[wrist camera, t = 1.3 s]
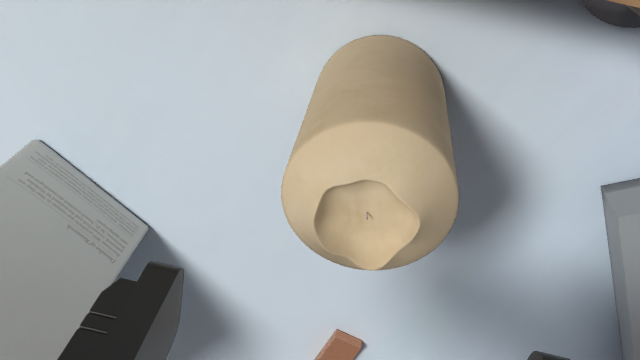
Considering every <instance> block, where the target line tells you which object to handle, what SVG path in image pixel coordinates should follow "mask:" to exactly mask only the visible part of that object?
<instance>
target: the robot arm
mask: <svg viewBox="0 0 640 360" xmlns="http://www.w3.org/2000/svg"><path fill="white" fill-rule="evenodd" d="M183 279H184V269H183V268H180V267H176V266H172V265H167V264H163V263H159V262H154V261H150V262H149V263H148V264H147V266H146V268H145V269H144V271H143V273H142V274H141V276H140V278H139V280H138V281H137V282H135V281H131V280H127V279H122V278H120V279H119V280H118V281H116V282H115V283H113V284H112V285H111V286H109V287H108V288H106V289H105V290H103V291H102V292H101V293H100V295H99V296H98V298H97V299H96V301H95V303H94V304H93V306H92V307H91V309H90V311H89V314H87V315H86V316H85V318H84V319H83V321H82V322H81V324H80V327H79V329H77V330H76V332H75V333H74V335H73V336H72V338H71V339H70V341H69V342H68V344H67V345H66V347H65V348H64V350H63V352H62V353H61V355H60V356H59V358H58V359H57V360H165V359H166V357H167V355H168V352H169V350H170V348H171V346H172V343H173V341H174V338H175V335H176V332H177V329H178V325H179V320H180V312H181V301H182V290H183ZM528 360H570V359H568V358H564V357H560V356H556V355H551V354H547V353H543V352H538V351H534V352H532V353H531V355H530V356H529V358H528Z"/></svg>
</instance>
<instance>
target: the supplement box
mask: <svg viewBox="0 0 640 360" xmlns="http://www.w3.org/2000/svg"><path fill="white" fill-rule="evenodd" d="M148 230H149V228H148V226H147V225H145V224H144V223H143V222H142V221H141V220H140V219H138V218H137V217H136V216H134V215H133V214H132V213H131V212H130V211H128V210H127V209H126V208H125V207H123V206H122V205H121V204H120V203H118V202H117V201H116V200H114V199H113V198H112V197H111V196H110V195H108V194H107V193H106V192H105V191H103V190H102V189H101V188H99V187H98V186H97V185H96V184H95V183H93V182H92V181H91V180H90V179H88V178H87V177H86V176H85V175H83V174H82V173H81V172H79V171H78V170H77V169H76V168H74V167H73V166H72V165H71V164H69V163H68V162H67V161H65V160H64V159H63V158H62V157H60V156H59V155H58V154H57V153H56V152H54V151H53V150H52V149H50V148H49V147H47V146H46V145H45V144H43V143H42V142H40V141H39V140H32V141H31V142H30V143H28V144H27V145H26V146H25V147H23V148H22V149H21V150H20V151H19V152H17V153H16V154H15V155H14V156H12V157H11V158H10V159H9V160H8V161H6V162H5V163H4V164H3V165H1V166H0V360H57V359H58V358H59V356H60V355H61V353H62V352H63V350H64V348H65V347H66V345H67V344H68V342H69V341H70V339H71V338H72V336H73V335H74V333H75V332H76V330H77V329H79V327H80V324H81V322H82V321H83V319H84V318H85V316H86V315H87V314H89V311H90V309H91V307H92V306H93V304H94V303H95V301H96V299H97V298H98V296H99V295H100V293H101V292H102V291H103V290H105V289H106V288H108V287H109V286H111V285H112V284H113V282H114V280H115V279H116V277H117V276H118V274H119V273H120V271H121V270H122V268H123V267H124V265H125V264H126V262H127V261H128V259H129V258H130V257H131V255H132V254H133V252H134V250H135V249H136V247H137V246H138V244H139V243H140V241H141V240H142V238H143V237H144V235H145V234H146V233H147V231H148Z"/></svg>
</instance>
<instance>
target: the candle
mask: <svg viewBox="0 0 640 360" xmlns="http://www.w3.org/2000/svg"><path fill="white" fill-rule="evenodd" d="M281 197H282V205H283V209H284V212H285V215H286V218H287V220H288V222H289V224H290V226H291V227H292V229H293V231H294V232H295V233H296V235H297V236H298V237H299V238H300V240H301V241H302V242H303V243H304V244H306V245H307V246H308V247H309V248H310V249H311V250H313V251H314V252H315V253H317V254H318V255H320V256H322V257H323V258H325V259H327V260H330V261H332V262H334V263H337V264H339V265H342V266H346V267H350V268H354V269H362V270H386V269H392V268H398V267H401V266H404V265H408V264H410V263H412V262H415V261H417V260H419V259H421V258H422V257H424V256H426V255H427V254H429V253H430V252H431V251H433V250H434V249H435V248H436V247H437V246H438V245H439V244H440V243H441V242H442V241H443V240H444V239H445V237H446V236H447V235H448V233H449V232H450V230H451V228H452V226H453V224H454V221H455V219H456V216H457V212H458V207H459V191H458V182H457V175H456V168H455V161H454V154H453V147H452V140H451V132H450V125H449V118H448V111H447V104H446V97H445V91H444V86H443V82H442V78H441V76H440V73H439V71H438V69H437V67H436V66H435V64H434V62H433V61H432V60H431V59H430V57H429V56H428V55H427V54H426V53H425V52H424V51H423V50H422V49H420V48H419V47H418V46H416V45H415V44H413V43H411V42H409V41H407V40H404V39H402V38H399V37H394V36H388V35H372V36H366V37H363V38H359V39H356V40H354V41H352V42H350V43H348V44H346V45H345V46H343V47H342V48H341V49H339V50H338V51H337V52H336V53H335V54H334V55H333V56H332V57H331V58H330V59H329V60H328V62H327V63H326V65H325V66H324V68H323V70H322V72H321V74H320V76H319V78H318V81H317V84H316V86H315V89H314V92H313V95H312V98H311V100H310V103H309V106H308V109H307V111H306V114H305V117H304V120H303V122H302V125H301V128H300V131H299V134H298V136H297V139H296V142H295V145H294V147H293V150H292V153H291V156H290V159H289V161H288V164H287V167H286V170H285V173H284V176H283V181H282V186H281Z"/></svg>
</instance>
